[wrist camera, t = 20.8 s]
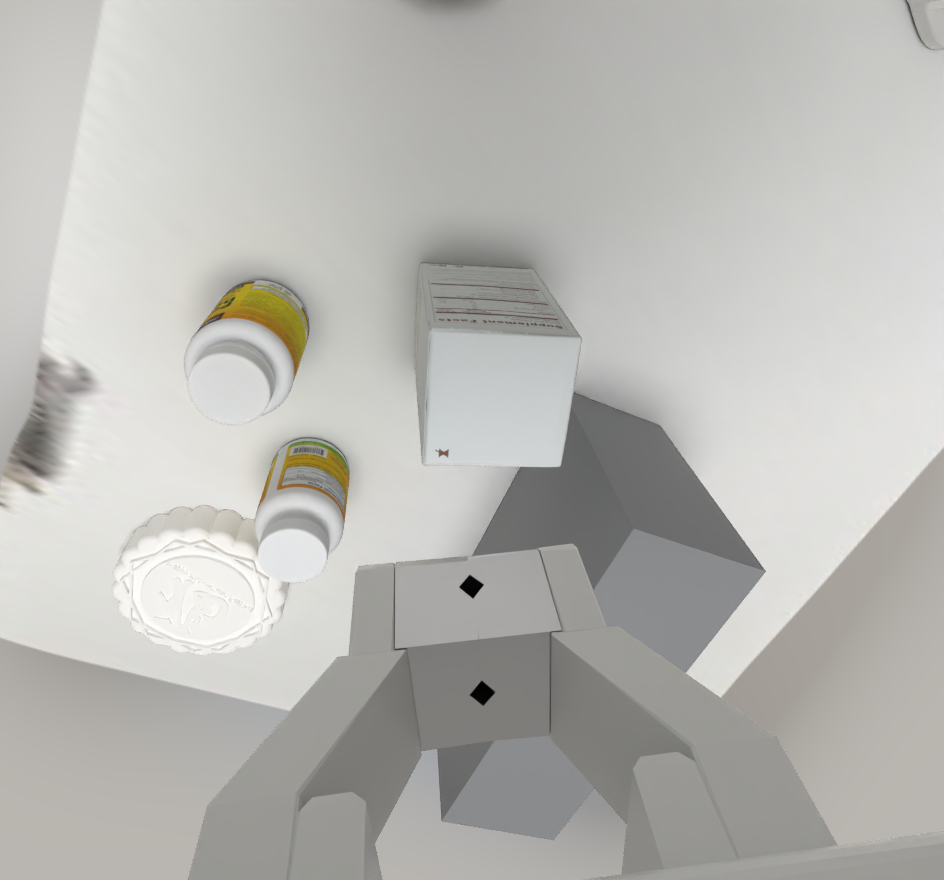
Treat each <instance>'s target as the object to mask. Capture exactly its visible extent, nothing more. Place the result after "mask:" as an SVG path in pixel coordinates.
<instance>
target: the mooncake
mask: <svg viewBox="0 0 944 880" xmlns="http://www.w3.org/2000/svg"><path fill="white" fill-rule="evenodd" d="M254 523H255V521H254V520H251V519H242V517H241V516H240V515H239V514H238V513H237V512H235V511H232V510H222V511H220V512H218V511H217V510H216V509H215V508H213V507H210V506H199V507H197V508H195V509H194V510H192V509H190V508H186V507H178V508H175V509H174V510H172V511H171V512H170V514H169V515H167V514H158V515H155V516H154V517H152V518H151V519H150V521H149V523H148V525H147V526H142V527H140V528H138V529H137V530H136V531H135V533H134V534H133V536H132V538H131V540H130V542H129V543H128V545H127V547H126V548H125V550H124V552H123V554H122V555H121V557H120V559H119V561H118V562H117V564H116V566H115V568H114V570H113V577H114V579H115V582H114V584H113V586H112V594H113V596H114V597H115V598H116V599H117V600H118V601H119V602H118V611H119V612H120V614H121V615H122V616H124V617H126V618H128V619H129V621H130V625H131V627H132V628H133V629H134V630H135V631H137V632H139V633H143V634H145V636H146V637H148V638H149V639H150V641H152V642H153V643H155V644H158V645H169V647H170V648H171V649H173V650H174V651H177V652H188V651H190V652H192V653H196V654H198V655H209V654H212V653H213V652H217V653H222V654H227V653H231V652H233V651H235V650H236V649H237V647H241V648H245V647H249V646H252V645H253V644H254V643H255V642H256V641H257V638H260V637H264V636H266V635H268V634H269V633H270V632H271V630H272V627H273V623H276V622H277V621H279V620H280V618H281V616H282V613H283V608H284V603H285V600H286V595H287V591H288V586H289V582H284V581H281V580H278V579H275V578H273V577H272V576H270V575H269V574H267V573H266V572H265V571H264V569H263V568H262V567H261V565H260V563H259V560H258V548H259V544H260V543H259V541H258V539H257V537H256V534H255V527H254Z"/></svg>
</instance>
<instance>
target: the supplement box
mask: <svg viewBox="0 0 944 880" xmlns="http://www.w3.org/2000/svg"><path fill="white" fill-rule="evenodd" d="M581 342H582V338H581V336H580V335H579V334H578V332H577V331H576V329H575V328H574V326H573V325H572V323H571V322H570V321H569V319H568V318H567V316H566V315H565V313H564V312H563V310H562V309H561V307H560V306H559V305H558V303H557V302H556V300H555V299H554V297H553V296H552V294H551V293H550V292H549V290H548V288H547V287H546V286H545V284H544V283H543V281H542V280H541V279H540V277H539V276H538V274H537V273H536V271H535V270H534V269H520V268H502V267H484V266H466V265H448V264H431V263H421V264H420V266H419V277H418V291H417V307H416V331H415V375H416V388H417V402H418V416H419V429H420V443H421V456H422V464H423V465H451V466H505V467H559V466H561V462H562V457H563V452H564V446H565V441H566V435H567V428H568V422H569V416H570V410H571V404H572V398H573V392H574V386H575V380H576V374H577V367H578V361H579V354H580V348H581Z"/></svg>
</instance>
